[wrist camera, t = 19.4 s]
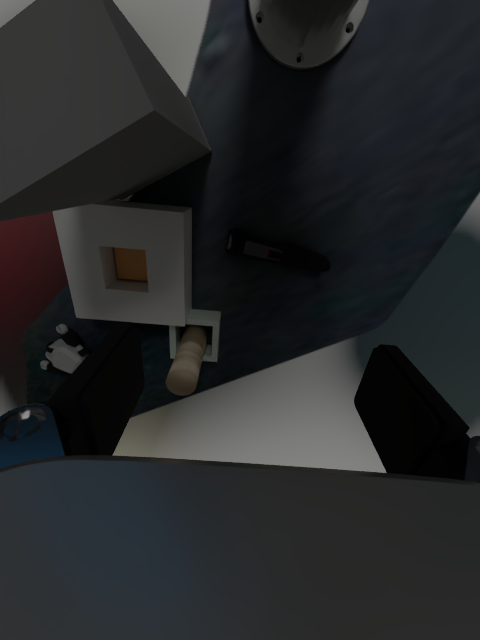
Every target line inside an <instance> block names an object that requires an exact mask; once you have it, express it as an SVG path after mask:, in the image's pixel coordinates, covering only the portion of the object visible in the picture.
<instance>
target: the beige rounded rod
mask: <svg viewBox="0 0 480 640" xmlns="http://www.w3.org/2000/svg"><path fill="white" fill-rule="evenodd" d="M208 333H209V329H208V326H203V325H191V324H187V327H186V329H185V332H184V334H183V337H182V340H181V342H180V345H179V347H178V350H177V353H176V355H175V358H174V361H173V363H172V366H171V368H170V371H169V374H168V376H167V379H166V386H167V388H168V389H169V390H170V391H171V392H172V393H174V394H176V395H181V396H184V395H189V394H191V393H193V392H194V391H195V389H196V386H197V381H198V377H199V372H200V368H201V364H202V359H203V355H204V350H205V346H206V342H207V337H208Z"/></svg>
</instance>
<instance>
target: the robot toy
mask: <svg viewBox="0 0 480 640" xmlns="http://www.w3.org/2000/svg"><path fill="white" fill-rule="evenodd" d="M56 330H57V331H58V332H59V333H61V334H63V335H62V336H60V338H61V339H59V340H57V341H56V342H50V343H48V344H47V346H46V350H47V352H46V357H47V358H48V359H49V360H50V362H48V361H41V363H40V364H41V368H42V369H44V370H46V369H47V371H48V372H51V373H56V374H58V373H61V372H64V371H65V372H68V373H69V375H71V374H72V373H73V372H74V370H75V369H76V368H77V367H78V366H79V365H80V364H81V362H82V361H83V360H84V359H85V358H86V357H87V356H88V355H89V352H90V351H89V350H88V349H87V348H86V347H84V348H83V347H82V346H81V345H80V341H79V337H78V335H77V334H76V333H75V332H74V331H73V330H72V329H71V330H69V331H68V328H67V326H66V325H65V324H60V325H58V326H57V327H56Z"/></svg>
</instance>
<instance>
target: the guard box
mask: <svg viewBox="0 0 480 640" xmlns="http://www.w3.org/2000/svg"><path fill="white" fill-rule="evenodd" d="M52 212H53V216H54V221H55V225H56V229H57V234H58V238H59V243H60V247H61V252H62V256H63V261H64V265H65V269H66V274H67V278H68V283H69V287H70V292H71V296H72V300H73V305H74V309H75V314H76V318H87V319H99V320H111V321H123V322H135V323H148V324H160V325H172V326H184V327H185V325H186V322H187V320H188V317H189V314H190V312H191V309H192V207H181V206H171V205H160V204H150V203H139V202H129V201H118V200H109V201H104V202H99V203H93V204H88V205H83V206H78V207H72V208H67V209H62V210H56V211H52ZM114 247H117V248H128V249H139V250H145V252H146V264H147V277H148V281H143V280H132V279H120V278H118V273H117V266H116V258H115V251H114Z"/></svg>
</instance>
